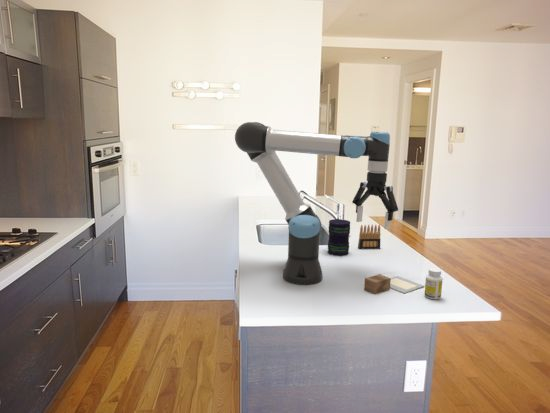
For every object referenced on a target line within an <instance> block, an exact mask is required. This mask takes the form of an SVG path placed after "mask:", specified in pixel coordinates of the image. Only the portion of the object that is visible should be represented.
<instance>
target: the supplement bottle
mask: <svg viewBox="0 0 550 413" xmlns="http://www.w3.org/2000/svg"><path fill="white" fill-rule="evenodd" d="M441 274H442V269H439V268H437V267H436V268H435V267H430V268H428V274H427V275H426V276H425V285H424V286H425V287H424V296H425V297H426V298H427V299H430V300H440V299H441V298H442V288H443V280H444V279H443V277H442V275H441Z"/></svg>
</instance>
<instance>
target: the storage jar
mask: <svg viewBox="0 0 550 413" xmlns="http://www.w3.org/2000/svg"><path fill="white" fill-rule="evenodd" d="M350 232H351V221H350V220H348V219H347V220H346V219H341V218H340V219H338V218H337V219H336V218H335V219H329V221H328V241H327V254H329V255H331V256H335V257H343V256H344V257H345V256H348V255H349V254H350V253H349V252H350V251H349V250H350V242H349V241H350V234H351V233H350Z"/></svg>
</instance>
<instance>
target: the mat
mask: <svg viewBox="0 0 550 413" xmlns="http://www.w3.org/2000/svg"><path fill="white" fill-rule="evenodd" d="M390 278H391V280H390V290H393V291H396V292H399V293H402V294H407V293H411V292H414V291H417V290H419V289H422V288H425V285H423V284H422V283H419V282H415V281H412V280H410V279H407V278H404V277H402V276H399V275H397V276H394V277H390Z"/></svg>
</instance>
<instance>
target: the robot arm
mask: <svg viewBox="0 0 550 413" xmlns="http://www.w3.org/2000/svg"><path fill="white" fill-rule="evenodd" d="M390 140H391V135H390V132H387V131H371V132H370V134H369V136H360V135H341V134H340V135H339V134H330V133H318V132H317V133H316V132H304V131H296V130H295V131H294V130H293V131H292V130H281V129H273V128H271V126H269V125H267V126H266V124H264V123H261V122H258V121H254V122H252V121H249V122H247V121H246V122H244V123H242V124H241V125H239V126H238V127H237V129H236V131H235V134H234V141H235V144H236V146H237V148H238V149H239V150H241V151H242V152H244V153H247V156H248V157H249V159H250V161H251V162H252V163H256V165H257V166H258V167H259V169H260V170H261V172H262V174H263V176H264V177H265V179H266V182H268V184H269V186H270V188H271V190H272V191H273V194H274V195H275V197H276V198H277V200H278V202H279V204H280V205H281V207H282V209H283V210H284V212H285V218H284V219H285V222H286V223H287V225H288V243H287V244H288V246H287V247H288V248H287V253H288V255H287V260H286V262H285V266H284V269H283V271H282V278H283V280H284V281H286V282H288V283H292V284H296V285H314V284H318V283H320V282H321V281H322V280H323V271H322V267H321V264H320V260H319V258H320V257H319V255H320V237H321V233H322V222H321V219H320V217H319V215H317V214H316V213H315V211H314V210H313V209H312V206H311V205H310V204H308V203H305V202H304V200H303V198H302V197H301V195H300V192H299V191H298V189H297V187H296V186H295V184H294V183H293V180H292V179H291V177H290V175H289V174H288V172H287V170H286V169H285V166H284V165H283V163H282V161H281V160H280V158H279V156H278V155H277V153H276V152H285V153H297V154H298V153H299V154H309V155H310V154H311V155H321V156H331V157H333V156H334V157H341V158H342V157H343V158H344V157H345V158H350V159H359V158H360V157H368V161H367V171H368V172H367V173H366V181H367V182H366V181H363V182H360V183H359V188H358V189H357V192H356V194H355V195H354V197H353V200H352V204H354V205H355V213H356V222H357V223H359V222H363V214H364V213H363V212H364V211H363V210H364V205H363V204H364V203H365V202H366V200H367V199H369V197H370V196H375V197H378V198H379V199H381V202H382V203H383V206H384V207H385V209H386V210H387V211H386V212H385V217H384V229H385V230H386V229H390V228H391V221H393V219H394V212H398V211H399V207H398V203H397V201H396V198H395V194H394V190H393V189H394V187H393V186H392V185H389V186H388V185H386V183H387V179H388V178H387V177H388V174H387V172H388V165H389V155H390V154H389V153H390V145H391V143H390ZM365 190H366V191H365Z"/></svg>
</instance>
